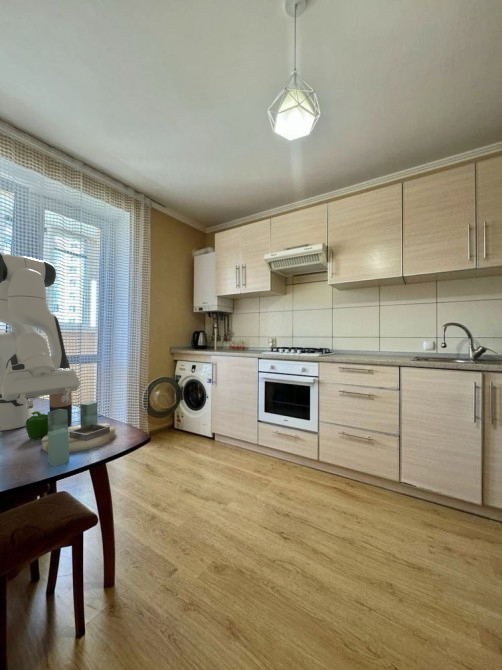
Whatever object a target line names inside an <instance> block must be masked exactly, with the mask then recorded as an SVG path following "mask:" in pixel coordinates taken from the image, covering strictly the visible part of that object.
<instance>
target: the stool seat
mask: <svg viewBox="0 0 502 670" xmlns="http://www.w3.org/2000/svg"><path fill="white" fill-rule="evenodd" d="M79 406H80V407H79V409H80V410H79V411H80V416H79V417H80V424H77V425H72V426H71V425H70V426H68V414H67V410H64V409H58V410H53V411H50V410H49V411H47V415H48V432H50V431H54V430H58V429H63V428H64V429H66V430H68V431H69V454H70V453H77V452H81V451H86V450H87V451H88V450H89V449H93V448H96V447H97V448H98V447H99V446H100V447H101V446H102V445H104V444H106V443H109V442H110V441H112V440H113V439H114V438H115V437H116V427H115V425H113V424H112V423H111V424H110V423H105V422H98V421H99V420H98V402H96V401H87V402H83V403H80V404H79ZM41 450H42V451H43V452H45V453H48V435H46V436H45V437H43V438H41Z"/></svg>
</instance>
